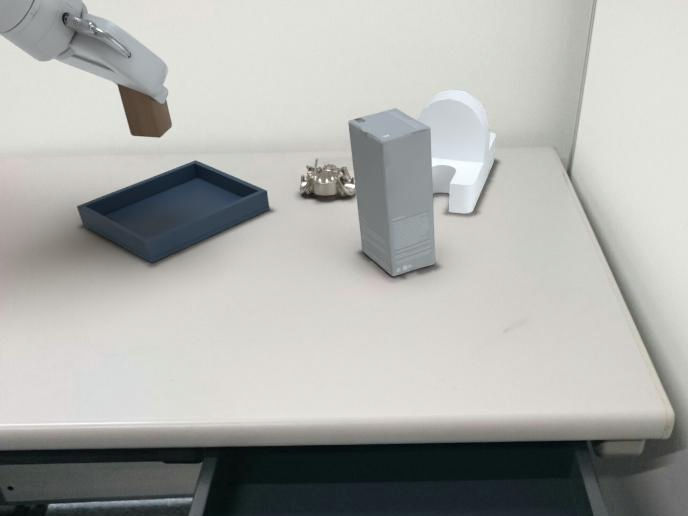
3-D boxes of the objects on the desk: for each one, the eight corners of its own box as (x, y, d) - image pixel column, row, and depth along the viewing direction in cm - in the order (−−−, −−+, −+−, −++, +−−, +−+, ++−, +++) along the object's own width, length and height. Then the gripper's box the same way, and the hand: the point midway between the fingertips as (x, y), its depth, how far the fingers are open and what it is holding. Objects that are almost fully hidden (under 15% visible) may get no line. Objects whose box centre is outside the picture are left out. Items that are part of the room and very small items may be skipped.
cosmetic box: (436, 265, 90) (440, 127, 78) (385, 280, 88) (382, 140, 76) (402, 237, 95) (401, 103, 83) (354, 251, 92) (345, 114, 80)
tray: (83, 225, 98) (76, 205, 96) (199, 178, 107) (195, 159, 105) (152, 263, 91) (146, 243, 89) (269, 209, 100) (267, 190, 98)
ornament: (359, 182, 106) (358, 156, 103) (352, 203, 101) (350, 176, 99) (305, 180, 106) (302, 154, 104) (296, 201, 102) (293, 174, 99)
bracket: (430, 152, 113) (432, 68, 104) (495, 159, 111) (502, 74, 102) (399, 206, 101) (398, 116, 92) (471, 214, 99) (477, 123, 90)
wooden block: (143, 124, 91) (124, 50, 85) (173, 126, 90) (156, 52, 84) (130, 137, 88) (109, 61, 82) (161, 139, 88) (142, 62, 82)
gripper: (109, -6, 69) (212, 83, 81) (2, -37, 78) (108, 47, 90) (84, 59, 70) (189, 138, 82) (-19, 21, 79) (89, 97, 91)
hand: (146, 90), depth 86 cm, fingers closed on wooden block, 5 cm apart
